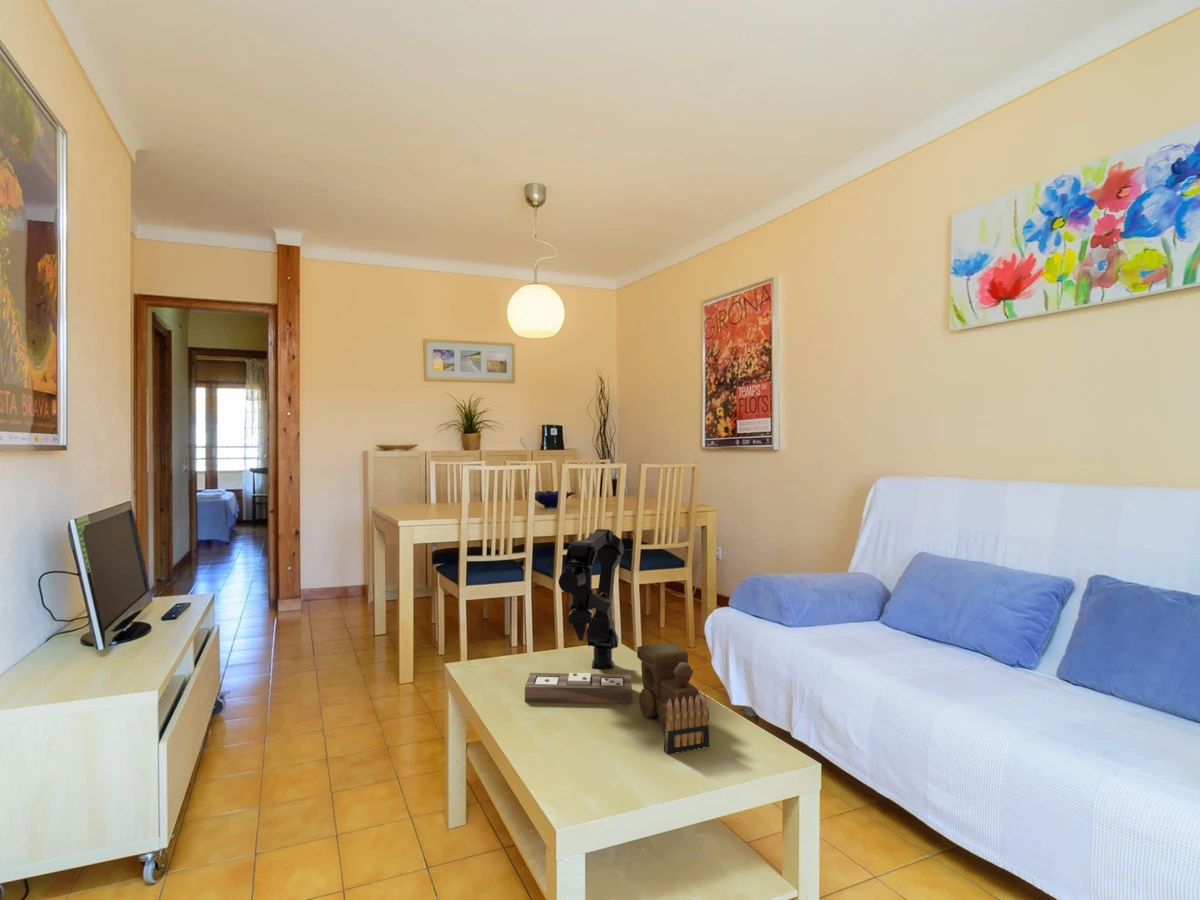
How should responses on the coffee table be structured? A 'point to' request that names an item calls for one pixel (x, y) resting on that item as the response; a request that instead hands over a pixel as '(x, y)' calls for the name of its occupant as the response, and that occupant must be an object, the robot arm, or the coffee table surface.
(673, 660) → the wooden toy train
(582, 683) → the two dot tile
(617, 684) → the three dot tile
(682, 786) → the coffee table surface
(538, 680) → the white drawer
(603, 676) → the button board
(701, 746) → the ammunition clip
